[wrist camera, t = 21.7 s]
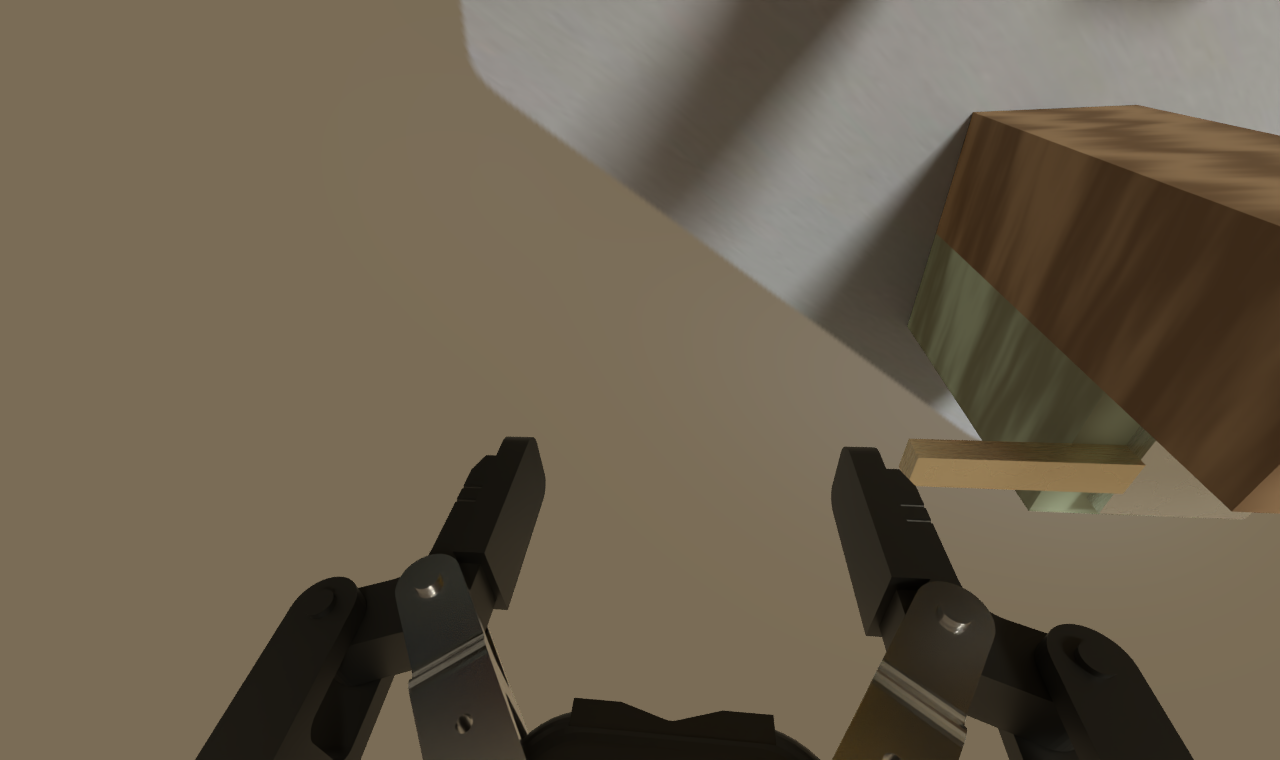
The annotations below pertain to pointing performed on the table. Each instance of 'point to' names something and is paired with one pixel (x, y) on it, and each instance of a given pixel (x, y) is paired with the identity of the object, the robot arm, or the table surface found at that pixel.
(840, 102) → the table surface
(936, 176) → the table surface
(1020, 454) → the wooden t-shaped block
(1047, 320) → the stand
